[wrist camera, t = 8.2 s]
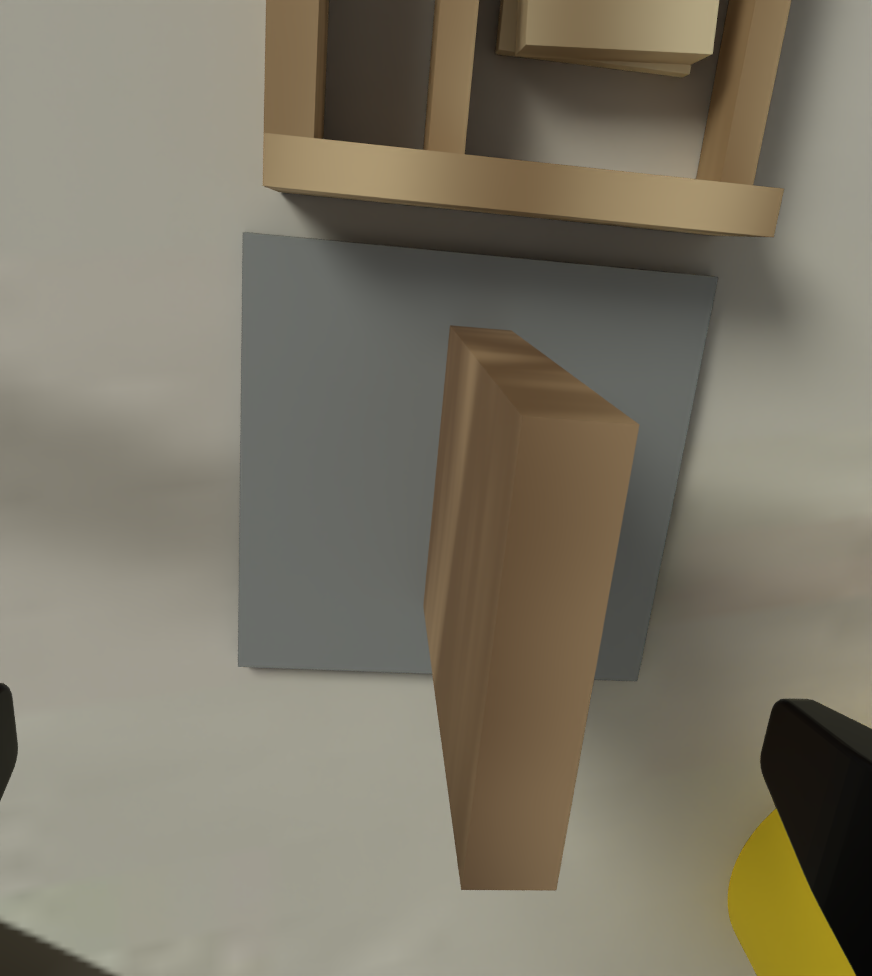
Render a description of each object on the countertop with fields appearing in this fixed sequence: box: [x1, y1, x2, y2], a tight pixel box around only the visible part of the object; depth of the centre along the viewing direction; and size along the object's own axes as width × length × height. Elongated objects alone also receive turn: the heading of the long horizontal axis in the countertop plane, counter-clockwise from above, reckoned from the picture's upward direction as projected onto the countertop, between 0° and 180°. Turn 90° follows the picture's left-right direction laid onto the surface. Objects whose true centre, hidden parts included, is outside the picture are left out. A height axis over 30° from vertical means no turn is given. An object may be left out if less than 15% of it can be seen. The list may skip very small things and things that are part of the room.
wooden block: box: [423, 325, 639, 890], centre depth 16 cm, size 2×8×10 cm, turn 175°
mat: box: [238, 232, 718, 681], centre depth 21 cm, size 12×12×1 cm
